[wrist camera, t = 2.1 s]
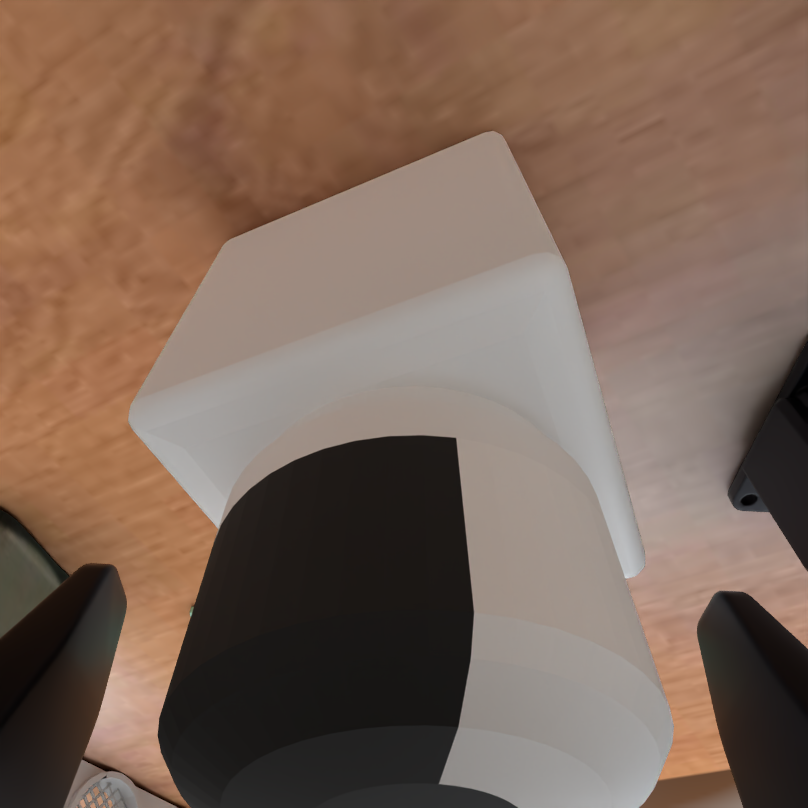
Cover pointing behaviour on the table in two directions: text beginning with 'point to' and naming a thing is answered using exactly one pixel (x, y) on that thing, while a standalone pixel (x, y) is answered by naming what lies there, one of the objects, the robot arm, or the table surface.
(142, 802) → the garden wall model
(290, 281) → the security camera
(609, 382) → the table surface
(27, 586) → the beige rounded chunk
